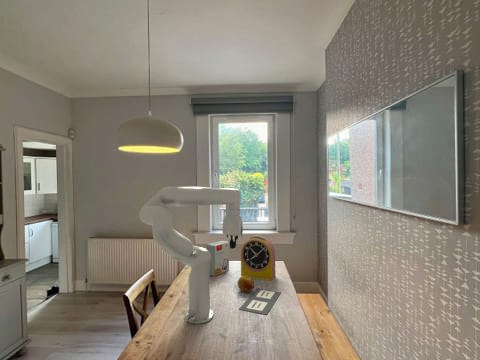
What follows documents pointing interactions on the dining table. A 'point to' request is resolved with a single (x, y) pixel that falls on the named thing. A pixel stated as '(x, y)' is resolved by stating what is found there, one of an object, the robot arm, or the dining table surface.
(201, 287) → the robot arm
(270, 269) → the alarm clock
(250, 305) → the label mat
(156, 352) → the dining table surface
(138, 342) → the dining table surface
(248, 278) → the fruit
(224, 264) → the hard drive box
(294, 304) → the dining table surface
